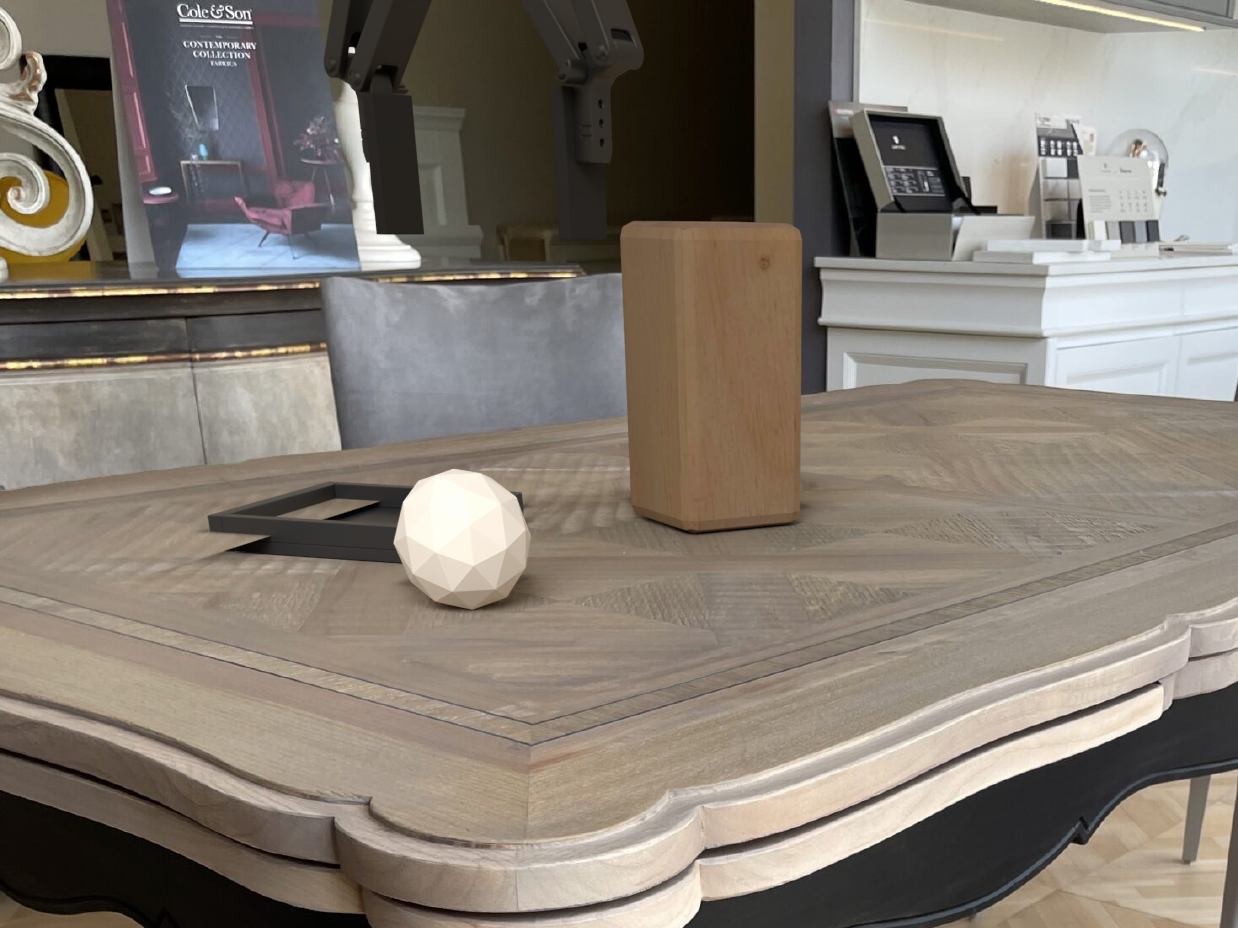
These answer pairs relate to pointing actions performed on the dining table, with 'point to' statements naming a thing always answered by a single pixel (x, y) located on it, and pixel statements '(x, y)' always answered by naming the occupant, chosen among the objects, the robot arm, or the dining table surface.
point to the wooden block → (713, 372)
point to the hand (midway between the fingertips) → (488, 238)
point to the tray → (323, 523)
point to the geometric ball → (462, 538)
